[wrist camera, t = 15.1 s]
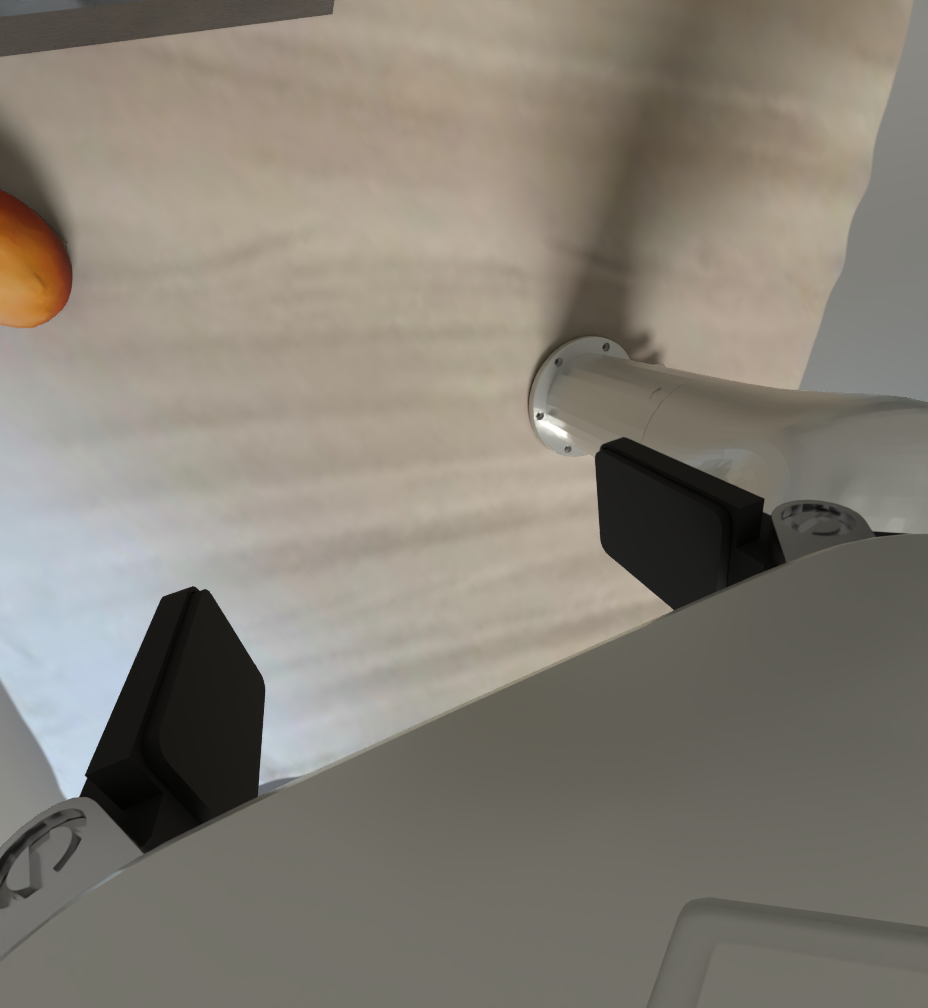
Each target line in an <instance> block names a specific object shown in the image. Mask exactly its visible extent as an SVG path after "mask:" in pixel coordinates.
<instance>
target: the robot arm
mask: <svg viewBox="0 0 928 1008" xmlns="http://www.w3.org/2000/svg"><path fill="white" fill-rule="evenodd" d="M555 360H556V362H555ZM537 413H538V415H537ZM536 415H537V416H536ZM529 416H530V421H531V425H532V428H533V430H534V432H535V434H536V436H537V438H538V439H539V440H540V441H541V442H542V443H543V445H545V446H546V447H548V448H549V449H550V450H552V451H554V452H556V453H558V454H560V455H563V456H570V457H578V456H584V455H588V454H590V455H591V456H593V457H595V466H596V481H597V496H598V511H599V526H600V540H601V544H602V547H603V549H604V550H605V552H606V553H607V554H608V555H609V556H610V557H612V558H613V559H614V560H615V561H616V562H618V563H619V564H620V565H621V566H622V567H624V568H625V569H626V570H627V571H628V572H629V573H631V574H632V575H633V576H634V577H635V578H637V579H638V580H639V581H640V582H641V583H643V584H644V585H645V586H646V587H647V588H648V589H650V590H651V591H652V592H653V593H654V594H656V595H657V596H658V597H659V598H660V599H662V600H663V601H664V602H665V603H666V604H668V605H669V606H670V607H671V608H672V609H673V610H674V611H672V612H669V613H667V614H665V615H662V616H660V617H658V618H656V619H653V620H651V621H649V622H646V623H644V624H642V625H640V626H637V627H635V628H633V629H630V630H628V631H626V632H624V633H621V634H619V635H617V636H614V637H612V638H610V639H608V640H605V641H603V642H601V643H599V644H596V645H594V646H592V647H590V648H587V649H585V650H583V651H581V652H578V653H576V654H574V655H572V656H569V657H567V658H565V659H563V660H560V661H558V662H556V663H554V664H551V665H549V666H547V667H545V668H542V669H540V670H538V671H536V672H533V673H531V674H529V675H527V676H524V677H522V678H520V679H518V680H515V681H513V682H511V683H509V684H506V685H504V686H502V687H500V688H497V689H495V690H493V691H491V692H488V693H486V694H484V695H482V696H480V697H477V698H475V699H473V700H471V701H468V702H466V703H464V704H462V705H459V706H457V707H455V708H453V709H450V710H448V711H446V712H444V713H442V714H439V715H437V716H435V717H433V718H431V719H428V720H426V721H424V722H422V723H420V724H417V725H415V726H413V727H411V728H408V729H406V730H404V731H402V732H400V733H397V734H395V735H393V736H391V737H389V738H386V739H384V740H382V741H380V742H377V743H375V744H373V745H371V746H369V747H366V748H364V749H362V750H360V751H358V752H355V753H353V754H351V755H349V756H347V757H344V758H342V759H340V760H338V761H335V762H333V763H331V764H329V765H327V766H324V767H322V768H320V769H318V770H316V771H313V772H311V773H309V774H307V775H305V776H302V777H300V778H298V779H296V780H294V781H292V782H289V783H287V784H285V785H283V786H281V787H278V788H276V789H274V790H272V791H270V792H267V793H265V794H263V795H261V796H259V797H258V785H259V771H260V758H261V744H262V730H263V716H264V702H265V684H264V680H263V677H262V675H261V673H260V672H259V670H258V669H257V667H256V665H255V664H254V662H253V660H252V659H251V657H250V656H249V654H248V652H247V651H246V649H245V648H244V646H243V644H242V643H241V641H240V639H239V638H238V636H237V635H236V633H235V631H234V630H233V628H232V627H231V625H230V623H229V622H228V620H227V618H226V617H225V615H224V614H223V612H222V610H221V609H220V607H219V606H218V604H217V602H216V601H215V599H214V598H213V596H212V594H211V593H210V592H209V591H208V590H206V589H204V590H201V591H199V590H198V589H197V588H196V587H193V586H192V587H189V588H186V589H184V590H181V591H178V592H175V593H172V594H169V595H166V596H164V597H162V599H161V600H160V603H159V605H158V607H157V609H156V612H155V614H154V616H153V619H152V621H151V623H150V626H149V628H148V630H147V633H146V635H145V637H144V640H143V642H142V644H141V647H140V649H139V651H138V653H137V656H136V658H135V660H134V663H133V665H132V667H131V670H130V672H129V674H128V677H127V679H126V681H125V684H124V686H123V688H122V691H121V693H120V695H119V697H118V700H117V702H116V704H115V707H114V709H113V711H112V714H111V716H110V718H109V721H108V723H107V725H106V728H105V730H104V732H103V734H102V737H101V739H100V741H99V744H98V746H97V748H96V751H95V753H94V755H93V758H92V760H91V762H90V765H89V767H88V769H87V772H86V774H85V776H86V777H87V780H86V782H85V785H84V787H83V789H82V792H81V794H80V796H79V797H78V798H71V799H69V800H66V801H63V802H60V803H57V804H56V805H54V806H52V807H50V808H48V809H47V810H45V811H43V812H41V813H40V814H38V815H37V816H35V817H34V818H33V819H32V820H30V821H29V822H28V823H26V824H25V825H24V826H22V827H21V828H20V829H19V830H18V831H16V833H15V834H13V835H12V836H11V837H10V838H9V839H8V840H7V841H6V842H5V843H4V844H3V845H2V846H1V847H0V1008H928V402H925V401H920V400H916V399H911V398H907V397H899V396H890V395H880V394H864V393H841V392H818V391H800V390H789V389H778V388H772V387H765V386H759V385H753V384H747V383H741V382H736V381H730V380H725V379H720V378H716V377H711V376H706V375H701V374H696V373H691V372H686V371H682V370H677V369H672V368H667V367H665V366H664V364H662V363H658V364H655V365H652V364H648V363H643V362H638V361H633V360H631V359H630V358H629V356H628V354H627V353H626V351H625V350H624V349H623V348H622V347H621V346H620V345H618V344H617V343H615V342H613V341H612V340H609V339H606V338H603V337H596V336H585V337H579V338H576V339H573V340H570V341H568V342H567V343H565V344H563V345H561V346H560V347H559V348H557V349H556V350H555V351H554V352H553V353H551V355H550V356H549V357H548V358H547V359H546V360H545V362H544V363H543V364H542V366H541V368H540V369H539V371H538V372H537V375H536V377H535V379H534V382H533V384H532V388H531V392H530V396H529Z"/></svg>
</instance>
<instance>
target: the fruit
mask: <svg viewBox="0 0 928 1008" xmlns="http://www.w3.org/2000/svg"><path fill="white" fill-rule="evenodd" d="M66 243H67V242H65V241H63V240H62V239H61V238H60V237H59V236H58V235H57V234H56V233H55V232H54V231H53V230H52V228H51V227H50V226H49V225H48V224H47V223H46V222H45V221H44V220H43V219H42V218H41V217H40V216H39V215H38V214H37V213H36V212H35V211H33V210H32V209H31V208H29V207H28V206H27V205H26V204H24V203H23V202H21V201H20V200H18V199H17V198H15V197H14V196H12V195H10V194H8V193H6V192H4V191H2V190H1V189H0V325H5V326H9V327H16V328H33V327H36V326H38V325H41V324H43V323H45V322H48V321H49V320H50V319H52V318H53V317H54V316H56V315H57V314H58V313H59V312H60V311H61V310H62V309H63V308H64V306H65V305H66V303H67V301H68V299H69V296H70V293H71V288H72V265H71V262H70V258H69V256H68V254H67V251H66Z"/></svg>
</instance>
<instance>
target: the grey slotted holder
mask: <svg viewBox="0 0 928 1008" xmlns="http://www.w3.org/2000/svg"><path fill="white" fill-rule="evenodd" d="M333 6H334V0H0V57H1V56H9V55H17V54H24V53H32V52H40V51H48V50H56V49H63V48H71V47H79V46H87V45H95V44H102V43H110V42H118V41H126V40H133V39H141V38H149V37H157V36H165V35H172V34H180V33H188V32H196V31H203V30H211V29H219V28H227V27H235V26H242V25H250V24H258V23H266V22H273V21H281V20H289V19H297V18H305V17H312V16H320V15H328V14H332V12H333Z"/></svg>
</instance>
